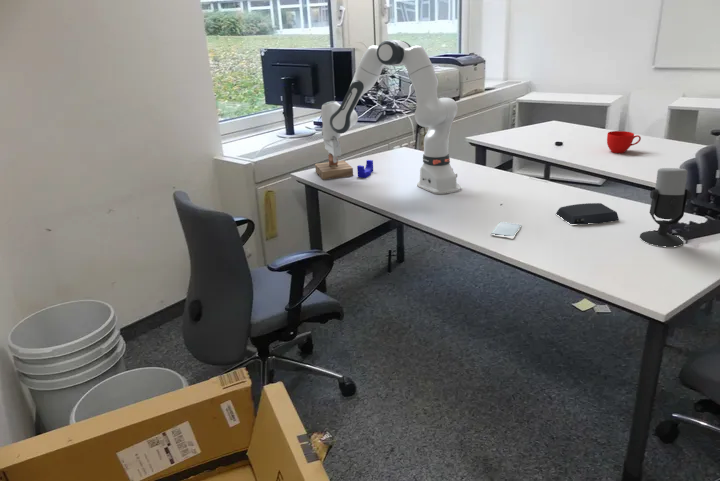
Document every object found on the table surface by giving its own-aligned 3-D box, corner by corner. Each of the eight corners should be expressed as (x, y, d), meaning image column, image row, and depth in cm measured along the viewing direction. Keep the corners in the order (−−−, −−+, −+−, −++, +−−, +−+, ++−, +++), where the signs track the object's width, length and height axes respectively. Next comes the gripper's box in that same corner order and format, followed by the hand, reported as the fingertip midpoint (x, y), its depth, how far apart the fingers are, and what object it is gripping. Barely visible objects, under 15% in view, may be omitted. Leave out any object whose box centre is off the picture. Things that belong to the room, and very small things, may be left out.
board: (353, 175, 259) (352, 167, 258) (322, 179, 255) (322, 171, 254) (344, 167, 273) (344, 160, 272) (315, 171, 269) (315, 164, 268)
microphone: (673, 232, 179) (689, 163, 169) (689, 248, 167) (707, 175, 157) (634, 231, 181) (647, 163, 171) (647, 247, 169) (662, 175, 159)
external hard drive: (554, 215, 200) (555, 205, 198) (599, 210, 202) (601, 200, 201) (571, 227, 188) (573, 217, 187) (619, 222, 191) (621, 212, 189)
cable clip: (365, 178, 255) (365, 166, 252) (357, 177, 257) (357, 166, 254) (375, 171, 264) (375, 160, 262) (368, 171, 266) (367, 159, 264)
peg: (339, 171, 262) (338, 155, 259) (330, 172, 261) (329, 156, 258) (337, 168, 266) (335, 153, 263) (328, 170, 265) (327, 154, 262)
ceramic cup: (642, 154, 270) (645, 136, 266) (608, 154, 273) (611, 136, 269) (634, 148, 282) (637, 130, 278) (601, 148, 285) (604, 131, 281)
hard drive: (513, 236, 180) (521, 224, 189) (490, 233, 183) (499, 220, 193) (513, 241, 180) (521, 228, 190) (490, 237, 184) (499, 225, 194)
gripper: (343, 137, 248) (344, 165, 253) (332, 129, 266) (334, 155, 271) (330, 139, 246) (332, 166, 252) (320, 131, 264) (322, 157, 270)
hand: (333, 161), depth 262 cm, fingers closed on peg, 4 cm apart
